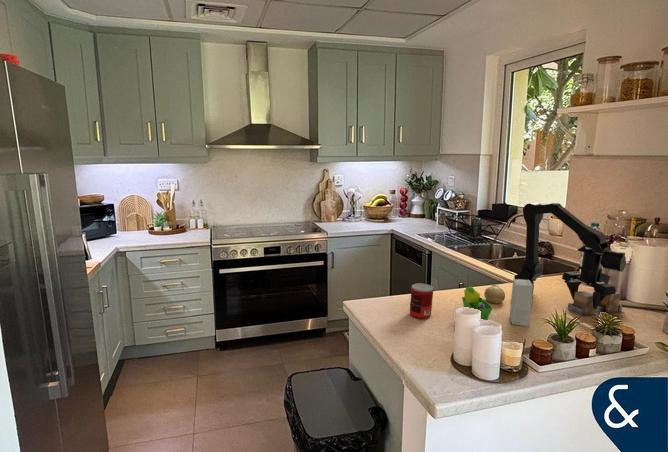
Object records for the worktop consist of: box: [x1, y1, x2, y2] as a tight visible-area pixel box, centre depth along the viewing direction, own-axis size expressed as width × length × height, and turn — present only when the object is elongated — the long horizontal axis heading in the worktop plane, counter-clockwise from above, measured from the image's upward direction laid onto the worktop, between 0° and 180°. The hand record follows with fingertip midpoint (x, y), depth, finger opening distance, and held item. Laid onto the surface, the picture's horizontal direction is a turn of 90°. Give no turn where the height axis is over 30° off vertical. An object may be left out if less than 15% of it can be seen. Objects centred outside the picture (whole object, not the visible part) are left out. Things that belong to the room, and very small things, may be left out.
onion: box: [483, 283, 506, 304], centre depth 165 cm, size 8×8×7 cm
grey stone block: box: [572, 290, 595, 314], centre depth 155 cm, size 6×5×7 cm
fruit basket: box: [461, 286, 494, 321], centre depth 150 cm, size 11×9×11 cm
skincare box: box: [509, 278, 534, 328], centre depth 145 cm, size 8×6×15 cm
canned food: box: [409, 282, 434, 320], centre depth 148 cm, size 8×8×11 cm
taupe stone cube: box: [599, 291, 622, 312], centre depth 158 cm, size 6×5×7 cm
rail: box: [564, 302, 626, 318], centre depth 157 cm, size 20×9×3 cm, turn 106°
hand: (584, 304), depth 155 cm, fingers open, 9 cm apart
